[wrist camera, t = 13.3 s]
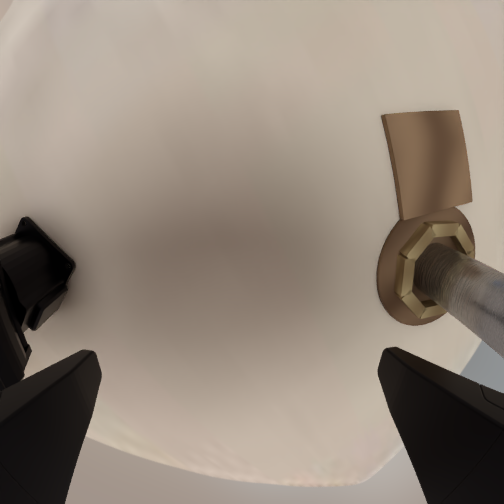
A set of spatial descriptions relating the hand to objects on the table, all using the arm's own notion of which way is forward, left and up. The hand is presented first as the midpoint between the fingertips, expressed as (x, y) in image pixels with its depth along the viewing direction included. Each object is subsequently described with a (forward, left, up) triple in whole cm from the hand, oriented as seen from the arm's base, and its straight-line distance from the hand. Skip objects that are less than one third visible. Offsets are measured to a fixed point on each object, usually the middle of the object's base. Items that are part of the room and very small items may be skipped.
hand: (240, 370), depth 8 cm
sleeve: (+13, +9, -12) cm, 21 cm away
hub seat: (+13, +9, -13) cm, 21 cm away
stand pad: (+7, +15, -13) cm, 21 cm away
